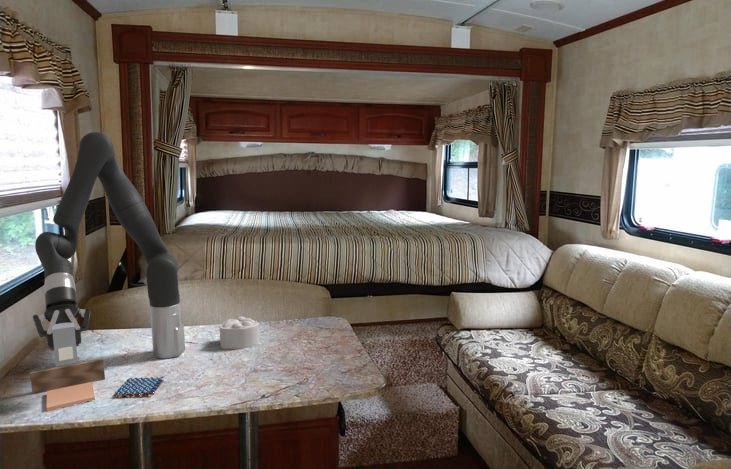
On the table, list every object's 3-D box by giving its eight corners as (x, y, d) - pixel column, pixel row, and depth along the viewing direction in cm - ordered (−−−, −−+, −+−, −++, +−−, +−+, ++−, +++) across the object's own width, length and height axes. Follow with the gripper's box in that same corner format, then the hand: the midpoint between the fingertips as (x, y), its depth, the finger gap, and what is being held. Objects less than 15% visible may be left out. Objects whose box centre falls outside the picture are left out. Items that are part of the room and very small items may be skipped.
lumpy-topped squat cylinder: (225, 338, 182) (224, 315, 180) (261, 337, 182) (260, 314, 181) (218, 349, 171) (217, 325, 170) (257, 348, 172) (256, 324, 171)
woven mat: (127, 383, 147) (127, 376, 147) (164, 382, 148) (164, 375, 148) (112, 400, 137) (111, 393, 137) (152, 399, 138) (151, 392, 137)
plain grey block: (76, 356, 139) (73, 321, 138) (77, 362, 135) (74, 326, 133) (55, 359, 137) (52, 324, 135) (55, 366, 132) (52, 330, 131)
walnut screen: (104, 377, 150) (103, 358, 149) (105, 379, 149) (103, 359, 148) (32, 392, 141) (30, 372, 140) (32, 394, 140) (30, 373, 139)
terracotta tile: (92, 384, 145) (91, 381, 145) (95, 400, 136) (94, 396, 136) (47, 394, 139) (46, 391, 139) (46, 411, 130) (46, 407, 130)
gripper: (28, 288, 136) (31, 345, 127) (89, 282, 143) (95, 335, 135) (31, 303, 141) (34, 358, 133) (89, 295, 148) (95, 348, 140)
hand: (65, 346), depth 134 cm, fingers closed on plain grey block, 5 cm apart
